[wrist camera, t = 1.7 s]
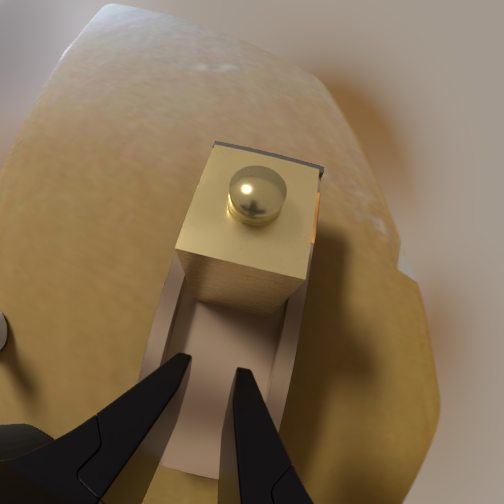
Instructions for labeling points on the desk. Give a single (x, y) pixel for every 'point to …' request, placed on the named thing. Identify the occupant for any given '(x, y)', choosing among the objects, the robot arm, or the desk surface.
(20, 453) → the pen holder
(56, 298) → the desk surface
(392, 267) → the desk surface
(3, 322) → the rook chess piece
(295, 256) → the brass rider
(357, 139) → the desk surface
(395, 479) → the desk surface
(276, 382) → the balance beam
